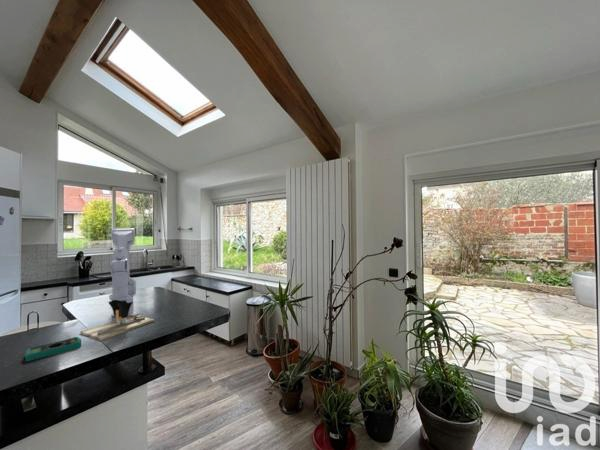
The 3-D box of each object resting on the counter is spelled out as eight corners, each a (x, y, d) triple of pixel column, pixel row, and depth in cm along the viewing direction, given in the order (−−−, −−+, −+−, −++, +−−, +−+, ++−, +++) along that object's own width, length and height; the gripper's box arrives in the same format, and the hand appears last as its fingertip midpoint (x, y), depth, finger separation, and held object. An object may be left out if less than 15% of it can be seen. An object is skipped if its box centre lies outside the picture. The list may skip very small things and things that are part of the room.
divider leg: (115, 324, 118) (115, 309, 118) (123, 322, 121) (122, 307, 121) (123, 326, 115) (122, 311, 115) (130, 324, 118) (130, 309, 118)
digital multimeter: (82, 348, 99) (82, 340, 99) (25, 363, 89) (24, 355, 89) (80, 342, 104) (80, 335, 104) (26, 356, 94) (25, 348, 94)
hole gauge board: (80, 333, 112) (80, 325, 112) (133, 316, 131) (133, 309, 131) (100, 340, 104) (100, 331, 104) (153, 321, 124) (153, 313, 124)
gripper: (101, 287, 118) (102, 317, 118) (119, 290, 112) (120, 322, 112) (118, 283, 124) (119, 312, 125) (136, 286, 118) (137, 316, 118)
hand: (121, 316), depth 119 cm, fingers open, 5 cm apart
